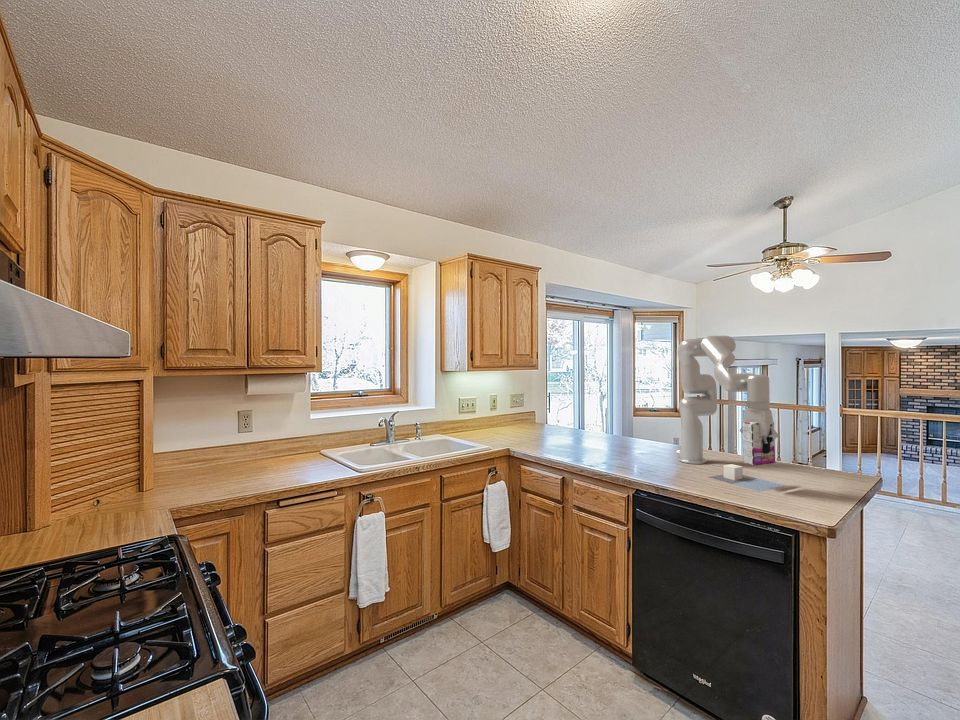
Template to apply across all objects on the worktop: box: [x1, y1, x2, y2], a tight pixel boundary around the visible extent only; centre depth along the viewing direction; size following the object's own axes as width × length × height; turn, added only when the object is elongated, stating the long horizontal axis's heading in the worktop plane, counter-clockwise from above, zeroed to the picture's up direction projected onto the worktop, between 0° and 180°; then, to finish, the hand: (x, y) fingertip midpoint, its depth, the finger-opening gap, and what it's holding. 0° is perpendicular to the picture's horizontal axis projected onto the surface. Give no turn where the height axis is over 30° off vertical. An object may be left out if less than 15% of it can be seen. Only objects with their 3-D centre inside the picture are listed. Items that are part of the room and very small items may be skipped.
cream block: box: [722, 463, 744, 480], centre depth 189 cm, size 5×5×5 cm
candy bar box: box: [742, 421, 776, 466], centre depth 178 cm, size 11×5×16 cm, turn 106°
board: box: [708, 473, 786, 492], centre depth 184 cm, size 22×16×1 cm
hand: (758, 451), depth 178 cm, fingers closed on candy bar box, 5 cm apart
